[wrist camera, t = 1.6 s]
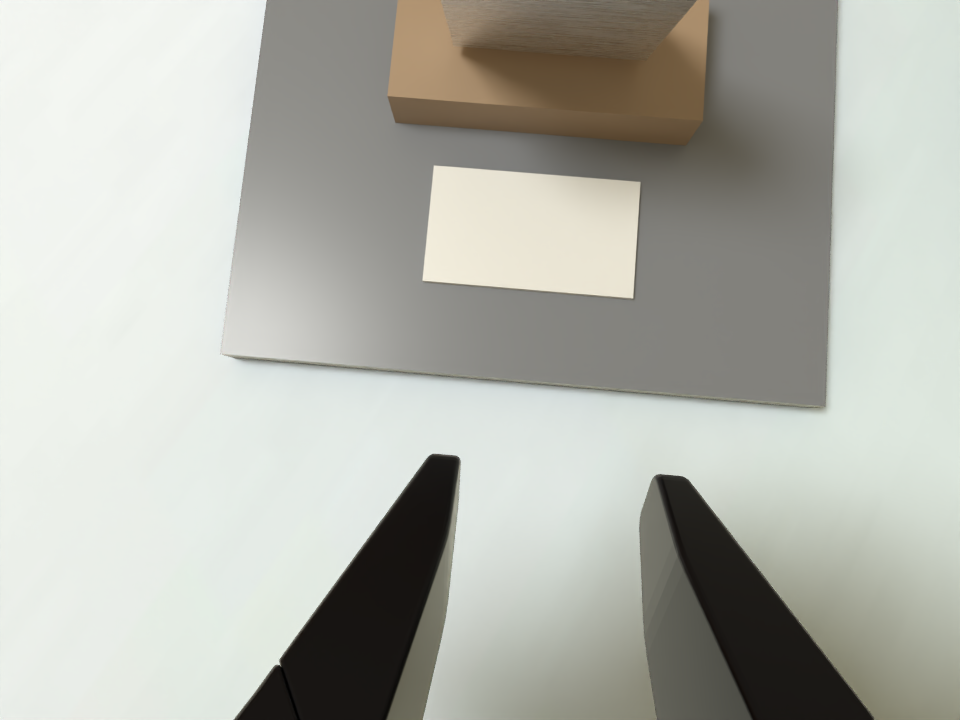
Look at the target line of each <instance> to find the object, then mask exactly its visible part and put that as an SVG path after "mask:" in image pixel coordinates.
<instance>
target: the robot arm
mask: <svg viewBox="0 0 960 720" xmlns="http://www.w3.org/2000/svg"><path fill="white" fill-rule="evenodd" d="M460 466H461V461H460V458H459V457H457V456H454V455H443V454H432V455H430V456H429V457H428V458H427V459H426V460H425V461H424V463H423V464H422V466H421V467H420V468H419V470H418V471H417V472H416V474H415V475H414V476H413V478H412V479H411V481H410V482H409V483H408V485H407V486H406V487H405V489H404V490H403V491H402V493H401V494H400V496H399V497H398V498H397V500H396V501H395V502H394V504H393V505H392V506H391V508H390V509H389V511H388V512H387V513H386V515H385V516H384V517H383V519H382V520H381V521H380V523H379V524H378V526H377V527H376V528H375V530H374V531H373V532H372V534H371V535H370V537H369V538H368V539H367V541H366V542H365V543H364V545H363V546H362V547H361V549H360V550H359V552H358V553H357V554H356V556H355V557H354V558H353V560H352V561H351V562H350V564H349V565H348V567H347V568H346V569H345V571H344V572H343V573H342V575H341V576H340V577H339V579H338V580H337V582H336V583H335V584H334V586H333V587H332V588H331V590H330V591H329V592H328V594H327V595H326V597H325V598H324V599H323V601H322V602H321V603H320V605H319V606H318V607H317V609H316V610H315V612H314V613H313V614H312V616H311V617H310V618H309V620H308V621H307V622H306V624H305V625H304V627H303V628H302V629H301V631H300V632H299V633H298V635H297V636H296V637H295V639H294V640H293V642H292V643H291V644H290V646H289V647H288V648H287V650H286V651H285V652H284V654H283V655H282V657H281V658H280V660H279V662H280V665H275V666H274V667H273V668H272V670H271V671H270V672H269V674H268V675H267V677H266V678H265V679H264V681H263V682H262V683H261V685H260V686H259V687H258V689H257V690H256V692H255V693H254V694H253V696H252V697H251V698H250V699H249V701H248V702H247V703H246V705H245V706H244V707H243V708H242V710H241V711H240V712H239V714H238V715H237V716H236V717H235V719H234V720H423V716H424V712H425V707H426V703H427V699H428V694H429V690H430V686H431V681H432V677H433V673H434V668H435V664H436V660H437V655H438V651H439V647H440V642H441V638H442V633H443V628H444V623H445V618H446V612H447V605H448V597H449V587H450V578H451V569H452V559H453V550H454V540H455V531H456V522H457V512H458V501H459V485H460ZM639 532H640V555H641V579H642V602H643V623H644V638H645V645H646V653H647V660H648V666H649V672H650V679H651V685H652V691H653V697H654V704H655V710H656V716H657V720H874V717H873V716H872V714H871V713H870V712H869V710H868V709H867V708H866V707H865V705H864V704H863V703H862V701H861V700H860V699H859V698H858V696H857V695H856V694H855V692H854V691H853V690H852V689H851V687H850V686H849V685H848V684H847V682H846V681H845V680H844V678H843V677H842V676H841V675H840V673H839V672H838V671H837V669H836V668H835V667H834V666H833V664H832V663H831V662H830V660H829V659H828V658H827V657H826V655H825V654H824V653H823V651H822V650H821V649H820V648H819V646H818V645H817V644H816V642H815V641H814V640H813V639H812V637H811V636H810V635H809V634H808V632H807V631H806V630H805V628H804V627H803V626H802V625H801V623H800V622H799V621H798V619H797V618H796V617H795V616H794V614H793V613H792V612H791V610H790V609H789V608H788V607H787V605H786V604H785V603H784V601H783V600H782V599H781V598H780V596H779V595H778V594H777V593H776V591H775V590H774V589H773V587H772V586H771V585H770V584H769V582H768V581H767V580H766V578H765V577H764V576H763V575H762V573H761V572H760V571H759V569H758V568H757V567H756V566H755V564H754V563H753V562H752V560H751V559H750V558H749V557H748V555H747V554H746V553H745V551H744V550H743V549H742V548H741V546H740V545H739V544H738V543H737V541H736V540H735V539H734V537H733V536H732V535H731V534H730V532H729V531H728V530H727V528H726V527H725V526H724V525H723V523H722V522H721V521H720V519H719V518H718V517H717V516H716V514H715V513H714V512H713V510H712V509H711V508H710V507H709V505H708V504H707V503H706V502H705V500H704V499H703V498H702V496H701V495H700V494H699V493H698V491H697V490H696V489H695V487H694V486H693V485H692V484H691V482H690V481H689V480H688V479H686V478H685V477H682V476H673V475H662V474H659V475H656V476H654V478H653V479H652V481H651V484H650V487H649V490H648V493H647V496H646V499H645V502H644V505H643V508H642V511H641V516H640V525H639Z"/></svg>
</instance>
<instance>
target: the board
mask: <svg viewBox="0 0 960 720" xmlns="http://www.w3.org/2000/svg"><path fill="white" fill-rule="evenodd" d="M837 11H838V0H697V1H696V2H695V4H694V5H693V6H692V7H691V8H690V9H689V11H688V12H687V13H686V14H685V15H684V16H683V18H682V19H681V20H680V21H679V22H678V23H677V25H676V26H675V27H674V28H673V29H672V30H671V32H670V33H669V34H668V35H667V36H666V38H665V39H664V40H663V41H662V42H661V43H660V45H659V46H658V47H657V48H656V49H655V50H654V52H653V53H652V54H651V55H650V56H649V57H648V59H647V60H646V61H641V60H628V59H615V58H601V57H588V56H575V55H562V54H549V53H536V52H523V51H510V50H497V49H484V48H470V47H457V46H454V45H453V41H452V38H451V34H450V31H449V27H448V24H447V21H446V17H445V14H444V10H443V7H442V3H441V0H267V2H266V10H265V17H264V25H263V33H262V40H261V48H260V55H259V63H258V70H257V78H256V85H255V93H254V101H253V108H252V116H251V123H250V131H249V138H248V146H247V153H246V161H245V169H244V176H243V184H242V191H241V199H240V206H239V214H238V221H237V229H236V237H235V244H234V252H233V259H232V267H231V274H230V282H229V289H228V297H227V305H226V312H225V320H224V327H223V335H222V342H221V350H220V354H222V355H226V356H229V357H235V358H246V359H258V360H269V361H281V362H292V363H304V364H315V365H327V366H338V367H350V368H361V369H373V370H384V371H396V372H407V373H419V374H430V375H442V376H453V377H465V378H476V379H488V380H499V381H511V382H522V383H534V384H545V385H557V386H568V387H580V388H591V389H603V390H614V391H626V392H637V393H649V394H660V395H672V396H683V397H695V398H706V399H718V400H729V401H741V402H752V403H764V404H775V405H787V406H798V407H810V408H811V407H824V406H825V403H826V370H827V337H828V305H829V272H830V240H831V207H832V174H833V142H834V109H835V76H836V44H837Z"/></svg>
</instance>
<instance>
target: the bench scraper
mask: <svg viewBox="0 0 960 720" xmlns="http://www.w3.org/2000/svg"><path fill="white" fill-rule="evenodd" d="M696 1H697V0H441V3H442V7H443V10H444V14H445V17H446V21H447V24H448V27H449V31H450V34H451V38H452V41H453V45H454V46H457V47H470V48H484V49H497V50H510V51H523V52H536V53H549V54H562V55H575V56H588V57H601V58H615V59H628V60H641V61H646V60H647V59H648V57H649V56H650V55H651V54H652V53H653V52H654V50H655V49H656V48H657V47H658V46H659V45H660V43H661V42H662V41H663V40H664V39H665V38H666V36H667V35H668V34H669V33H670V32H671V30H672V29H673V28H674V27H675V26H676V25H677V23H678V22H679V21H680V20H681V19H682V18H683V16H684V15H685V14H686V13H687V12H688V11H689V9H690V8H691V7H692V6H693V5H694V4H695V2H696Z"/></svg>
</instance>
